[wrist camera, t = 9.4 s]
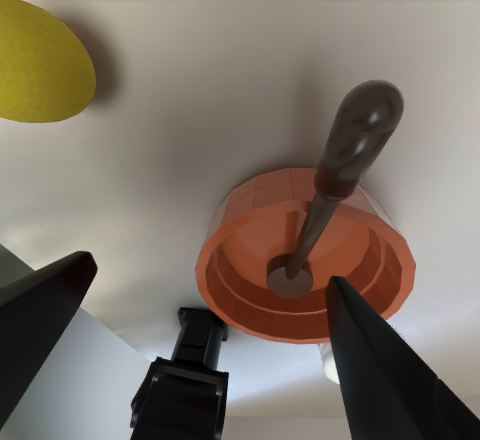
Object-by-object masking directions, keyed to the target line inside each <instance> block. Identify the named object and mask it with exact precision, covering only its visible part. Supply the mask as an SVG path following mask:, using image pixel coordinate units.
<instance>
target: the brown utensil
mask: <svg viewBox="0 0 480 440" xmlns="http://www.w3.org/2000/svg"><path fill="white" fill-rule="evenodd" d="M403 111H404V100H403V97H402V94H401V92H400V91H399V89H398V88H397V87H396V86H395V85H394V84H392V83H390V82H388V81H384V80H370V81H367V82H364V83H361V84H359V85H358V86H356V87H355V88H353V89H352V90H351V91H350V92H349V93H348V94H347V95H346V96H345V98H344V99H343V100H342V102H341V104H340V106H339V109H338V112H337V114H336V117H335V120H334V123H333V126H332V128H331V131H330V134H329V137H328V140H327V142H326V145H325V148H324V151H323V154H322V157H321V159H320V162H319V165H318V168H317V171H316V173H315V177H314V187H315V190H316V193H315V195H314V198H313V200H312V203H311V205H310V208H309V210H308V213H307V215H306V218H305V220H304V223H303V225H302V228H301V230H300V233H299V235H298V238H297V240H296V243H295V245H294V248H293V250H292V253H291V254H282V255H278V256H276V257H274V258H273V259H272V260H270V262H269V263H268V265H267V273H266V284H267V287H268V289H269V290H270V291H271V292H272V293H274V294H275V295H277V296H280V297H284V298H297V297H301V296H303V295H305V294H307V293H308V292H309V291H310V290H311V289H312V287H313V283H314V282H313V276H312V271H311V266H310V264H309V262H308V261H307V260H306V259H307V258H308V256H309V254H310V253H311V251H312V249H313V247H314V246H315V244H316V242H317V241H318V239H319V237H320V236H321V234H322V232H323V230H324V229H325V227H326V225H327V224H328V222H329V220H330V219H331V217H332V215H333V213H334V212H335V210H336V208H337V207H338V205H339V203H340V202H341V201H342V200H345V199H347V198H348V197H350V196H351V195H352V194H353V193H354V192H355V191H356V189H357V188H358V186H359V185H360V183H361V181H362V180H363V178H364V177H365V175H366V174H367V172H368V171H369V169H370V167H371V166H372V164H373V163H374V161H375V160H376V158H377V157H378V155H379V153H380V152H381V150H382V149H383V147H384V146H385V144H386V142H387V141H388V139H389V138H390V136H391V135H392V133H393V132H394V130H395V128H396V127H397V125H398V124H399V121H400V120H401V118H402V115H403Z"/></svg>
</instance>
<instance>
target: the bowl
mask: <svg viewBox="0 0 480 440" xmlns="http://www.w3.org/2000/svg"><path fill="white" fill-rule="evenodd" d="M316 171H317V169H314V168H292V167H290V168H284V169H280V170H276V171H272V172H268V173H264V174H260V175H257V176H255V177H253V178H252V179H250V180H249V181H247V182H245V183H244V184H242V185H240V186H239V187H237V188H235V189H234V190H232V191H231V192H230V194H229V195H228V196H227V197H226V198H225V200H224V201H223V202H222V203H221V205H220V206H219V207H218V208H217V209H216V211H215V214H214V216H213V219H212V222H211V224H210V227H209V230H208V232H207V235H206V237H205V240H204V243H203V245H202V248H201V251H200V254H199V258H198V261H197V264H196V267H195V273H196V279H197V286H198V290H199V293H200V294H201V296H202V297H203V299H204V301H205V302H206V304H207V305H208V307H209V308H210V310H212V311H213V312H214V313H215V314H216V315H217V316H219V317H220V318H221V319H222V320H223V321H224V322H226V323H227V324H229V325H231V326H232V327H234V328H236V329H238V330H240V331H242V332H244V333H246V334H249V335H252V336H256V337H259V338H262V339H266V340H269V341H274V342H283V343H291V344H320V343H328V342H330V336H329V328H328V319H327V309H326V300H325V291H326V288H327V285H328V282H329V279H330V277H331V276H333V275H334V276H343V277H345V278H346V279H347V280H348V281H349V282H350V284H351V285H352V286H353V287H354V288H355V289H356V290H357V291H358V292H359V293H360V294H361V295H362V296H363V297H364V298H365V299H366V301H367V302H368V303H369V304H370V305H371V306H372V307H373V308H374V309H375V310H376V311H377V312H378V313H379V314H380V315H381V316H382V318H383V319H384V320H387V319H388V318H389V317H391V316H392V315H393V314H395V313H396V312H397V311H398V310H399V309H400V307H401V306H402V305H403V303H404V302H405V300H406V299H407V297H408V296H409V294H410V293H411V291H412V290H413V284H414V276H415V269H416V263H415V261H414V259H413V256H412V254H411V252H410V249H409V247H408V245H407V242H406V240H405V238H404V237H403V236H402V234H401V233H400V232H399V230H398V229H397V228H396V226H395V225H394V224H393V222H392V221H391V220H390V218H389V217H388V216H387V214H386V213H385V212H384V211H383V209H382V208H381V207H380V205H379V204H378V203H377V201H376V200H375V199H374V198H373V197H372V196H371V195H370V194H369V193H368V192H366V191H365V190H364V189H363V188H362V187H361V186H360V185H359V186H358V188H357V189H356V191H355V192H354V193H353V194H352V195H351V196H350V197H348V198H347V199H345V200H342V201H341V202H340V203H339V205H338V207H337V208H336V210H335V212H334V213H333V215H332V217H331V219H330V220H329V222H328V224H327V225H326V227H325V229H324V230H323V232H322V234H321V236H320V237H319V239H318V241H317V242H316V244H315V246H314V247H313V249H312V251H311V253H310V254H309V256H308V258H307V259H306V260H307V261H308V262H309V264H310V266H311V271H312V276H313V282H314V283H313V287H312V289H311V290H310V291H309V292H308V293H307V294H305V295H303V296H301V297H297V298H284V297H280V296H277V295H275V294H274V293H272V292H271V291H270V290H269V289H268V287H267V284H266V273H267V265H268V263H269V262H270V260H272V259H273V258H274V257H276V256H278V255H282V254H291V253H292V250H293V248H294V245H295V243H296V240H297V238H298V235H299V233H300V230H301V228H302V225H303V223H304V220H305V218H306V215H307V213H308V210H309V208H310V205H311V203H312V200H313V198H314V195H315V193H316V190H315V187H314V177H315V173H316Z"/></svg>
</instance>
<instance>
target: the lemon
mask: <svg viewBox="0 0 480 440" xmlns="http://www.w3.org/2000/svg"><path fill="white" fill-rule="evenodd" d="M95 88H96V74H95V69H94V66H93V62H92V60H91V58H90V56H89V54H88V52H87V50H86V48H85V47H84V45H83V44H82V42H81V41H80V40H79V38H78V37H77V36H76V35H75V34H74V33H73V32H72V31H71V30H70V29H69V28H68V27H67V26H66V25H65V24H64V23H63V22H61V21H60V20H59V19H57V18H56V17H54V16H53V15H51V14H50V13H48V12H47V11H45V10H44V9H41V8H39V7H37V6H35V5H32V4H30V3H27V2H25V1H22V0H0V117H1V118H5V119H9V120H14V121H19V122H26V123H47V122H57V121H62V120H65V119H67V118H70V117H72V116H75V115H77V114H79V113H80V112H81V111H82V110H84V109H85V108H86V107H87V106H88V105H89V103H90V102H91V100H92V98H93V96H94V94H95Z"/></svg>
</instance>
